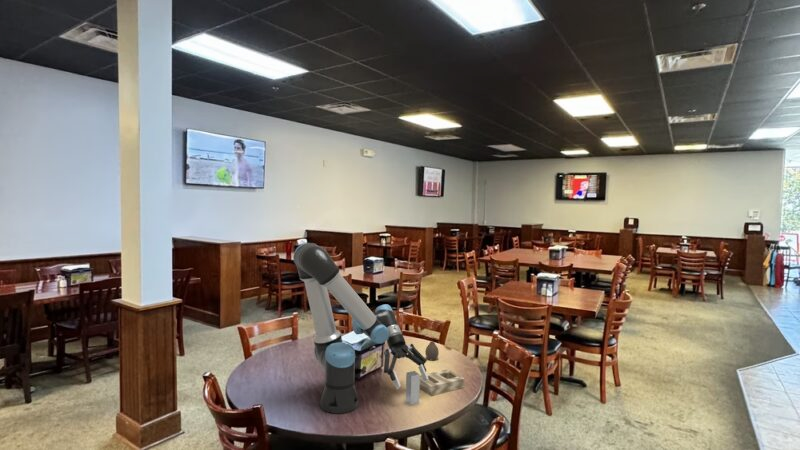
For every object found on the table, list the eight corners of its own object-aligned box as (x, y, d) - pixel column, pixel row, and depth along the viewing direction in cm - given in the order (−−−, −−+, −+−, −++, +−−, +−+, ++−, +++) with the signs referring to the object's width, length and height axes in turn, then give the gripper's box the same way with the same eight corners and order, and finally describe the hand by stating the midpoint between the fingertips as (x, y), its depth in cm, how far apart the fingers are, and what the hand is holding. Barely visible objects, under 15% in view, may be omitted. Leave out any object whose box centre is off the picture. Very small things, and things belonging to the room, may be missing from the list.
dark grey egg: (427, 361, 219) (428, 345, 218) (423, 356, 226) (423, 340, 225) (440, 360, 221) (440, 344, 220) (435, 355, 227) (436, 339, 227)
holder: (430, 395, 180) (431, 386, 180) (415, 385, 191) (415, 376, 190) (464, 387, 190) (464, 378, 189) (447, 377, 200) (448, 369, 200)
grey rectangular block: (410, 405, 172) (411, 376, 171) (405, 401, 175) (406, 372, 174) (419, 403, 174) (419, 374, 173) (413, 399, 177) (414, 370, 177)
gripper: (372, 337, 178) (389, 386, 166) (421, 328, 191) (441, 373, 179) (366, 346, 183) (383, 394, 171) (414, 337, 196) (433, 381, 184)
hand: (412, 383), depth 175 cm, fingers open, 13 cm apart
